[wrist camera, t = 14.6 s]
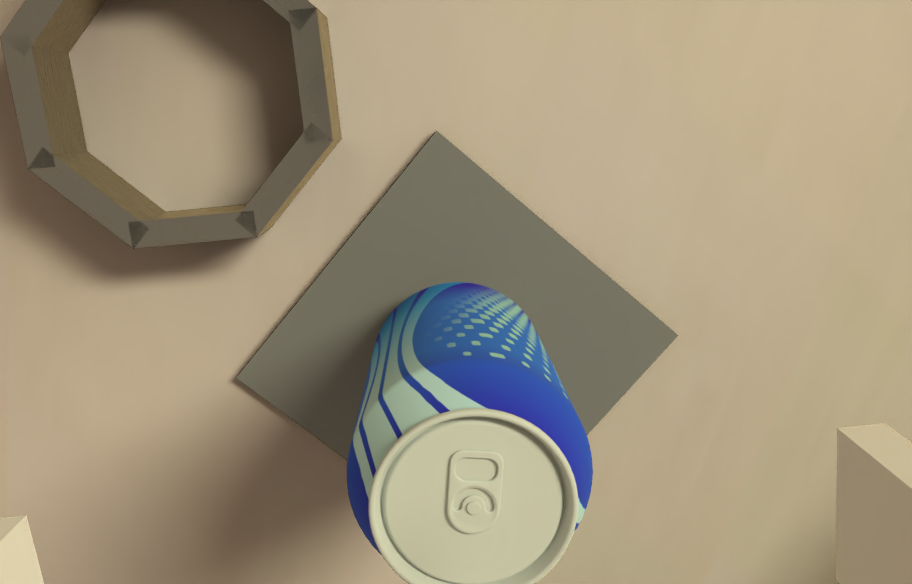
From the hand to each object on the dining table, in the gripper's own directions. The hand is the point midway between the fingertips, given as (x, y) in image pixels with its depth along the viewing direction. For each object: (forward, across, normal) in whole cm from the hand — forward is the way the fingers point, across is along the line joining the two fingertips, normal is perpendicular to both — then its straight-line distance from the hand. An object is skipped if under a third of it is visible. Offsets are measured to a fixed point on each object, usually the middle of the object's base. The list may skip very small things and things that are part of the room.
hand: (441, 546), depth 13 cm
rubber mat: (+27, 0, -6) cm, 28 cm away
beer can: (+27, 0, -6) cm, 28 cm away
